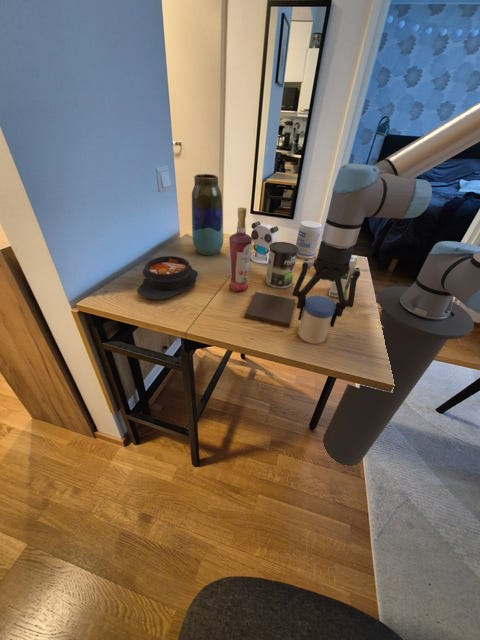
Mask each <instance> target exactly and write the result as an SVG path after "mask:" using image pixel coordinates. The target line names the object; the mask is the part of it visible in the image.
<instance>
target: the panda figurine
mask: <svg viewBox="0 0 480 640" xmlns="http://www.w3.org/2000/svg"><path fill="white" fill-rule="evenodd" d="M261 223H262V222H261V221H255V222H252V224H251V229H253V230H252V231H251V234H250V237H251V238H252V242H253V244H254V245H253V246H252V247H253V250H254V253H251V254H250V260H251V261H252V262H254V263H257V264H262V265H268V258H269V250H270V248H269V246H270V244H272V243H274V242H278V232H279V226H273V225H271V224H268V223H262V224H261Z"/></svg>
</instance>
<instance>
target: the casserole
mask: <svg viewBox="0 0 480 640" xmlns="http://www.w3.org/2000/svg"><path fill="white" fill-rule="evenodd" d="M198 272H199V271H197V270H196V269H194V268H193V267H192V265H191V264H190V263H189V261H188V260H187V259H186V258H184V257H180V256H174V255H171V256H170V255H167V256H165V255H164V256H159V257H156V258H153V259H150V260H149V261H146V263H145V265H144V268H143V269H142V275H143V277H144V279H143V281H142V283H141V285H140V286H139V287H138V288H137V290H136V292H137V293H138V295H139V296H141V297H142V298H143V297H144V298H146V299H150V300H165V299H168V298H170V297H173V296H174V295H179V294H182V293H184V292H186V291H189V290H190V289H192V288H193V287H194V286H195V284H196V281H197V277H198V275H199V273H198Z"/></svg>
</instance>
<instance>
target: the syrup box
mask: <svg viewBox="0 0 480 640" xmlns="http://www.w3.org/2000/svg"><path fill="white" fill-rule="evenodd" d="M357 262H358V255H353V254H352V256H351V259H350V262H349V266H350V267H351V268H354V269H355V268H356V266H357ZM350 279H351V277H350V276H349V272H348V273H346V274H345V275H343V276H342V277H341V282H342V287H343V293H344V298H345V299H346V296H347V292H348V291H349V288H350ZM328 296H329V297H334V298H337V299H339V297H338V293H337V288H336V284H335V281H334V282H333V281H331V284H330V287H329V291H328Z"/></svg>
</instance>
